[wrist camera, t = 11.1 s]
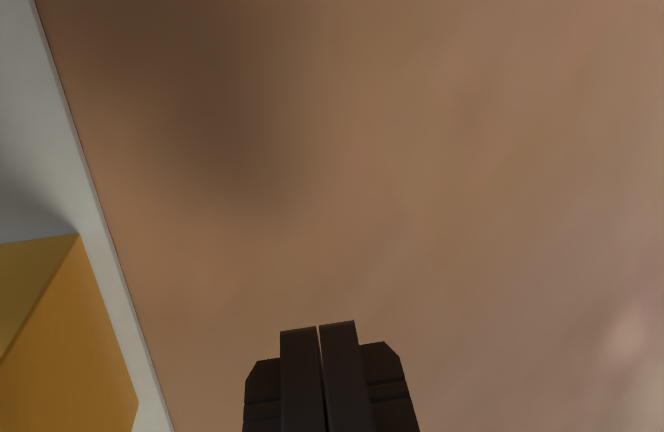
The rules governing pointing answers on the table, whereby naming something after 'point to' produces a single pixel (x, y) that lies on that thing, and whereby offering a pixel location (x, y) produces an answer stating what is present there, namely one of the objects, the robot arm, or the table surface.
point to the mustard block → (58, 343)
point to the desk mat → (61, 188)
